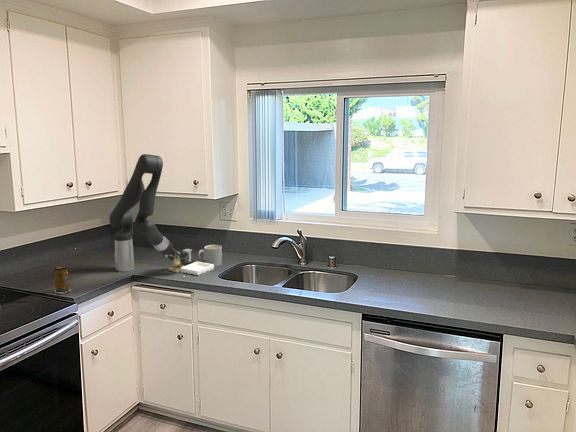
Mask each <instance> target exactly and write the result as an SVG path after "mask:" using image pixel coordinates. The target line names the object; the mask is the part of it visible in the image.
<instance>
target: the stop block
mask: <svg viewBox="0 0 576 432" xmlns="http://www.w3.org/2000/svg"><path fill="white" fill-rule="evenodd" d="M181 267H184V266H183V264H182V265H181V264H180V268H181ZM180 268H174V265H172V266H169V272H174V273H181V272H180Z"/></svg>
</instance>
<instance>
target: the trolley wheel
mask: <svg viewBox="0 0 576 432" xmlns="http://www.w3.org/2000/svg"><path fill="white" fill-rule="evenodd" d="M192 251H193V249H191V248H185V249H182V253H183V254H184V255H185V256H184V258H185V262H184V263H183V262H182V261H181V264H182V266H187V265H189V264H192V263H194V256H193V255H192Z"/></svg>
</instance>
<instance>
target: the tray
mask: <svg viewBox="0 0 576 432" xmlns="http://www.w3.org/2000/svg"><path fill="white" fill-rule="evenodd" d="M214 269H215V266H214V264H209V263H205V262H204V261H197V260H196V261H195V262H194V261H193V263H192V264H189V265H187V266H184V267H181V268H180V272H179V273H181V274H186V273H187V274H188V275H191V274H193V276H196V275H198V276H200V274H201V275H203V274H205V273H208V272H210V271H212V270H214ZM207 271H208V272H207ZM202 273H203V274H202Z"/></svg>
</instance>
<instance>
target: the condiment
mask: <svg viewBox="0 0 576 432" xmlns="http://www.w3.org/2000/svg"><path fill="white" fill-rule="evenodd" d="M53 277H54V287H55V289H54V290H56V292H65V291H68V290H69V289H70V280H69V279H70V278H69V272H68V266H66V265H58V266H55V267H54V274H53ZM68 292H69V291H68Z"/></svg>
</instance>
